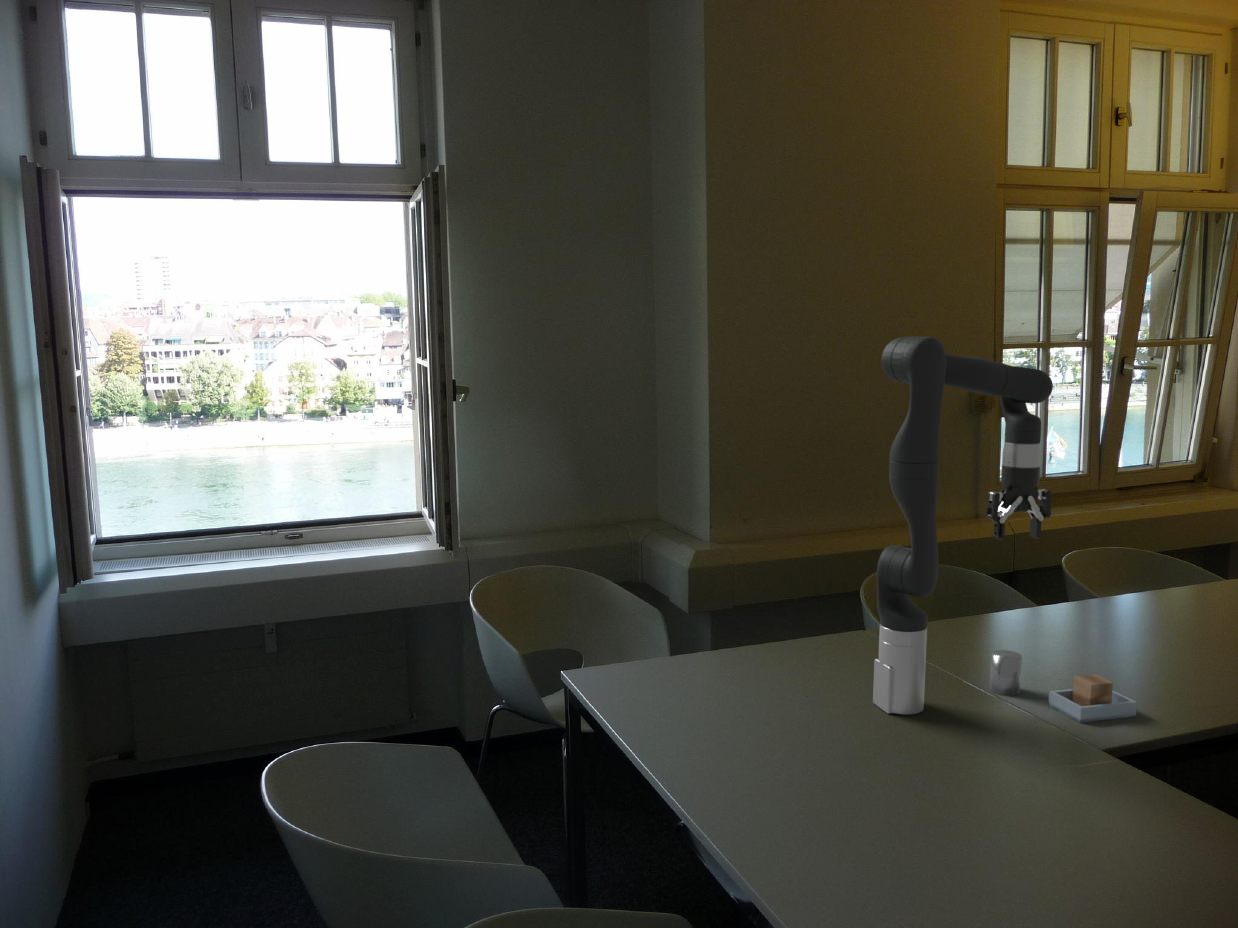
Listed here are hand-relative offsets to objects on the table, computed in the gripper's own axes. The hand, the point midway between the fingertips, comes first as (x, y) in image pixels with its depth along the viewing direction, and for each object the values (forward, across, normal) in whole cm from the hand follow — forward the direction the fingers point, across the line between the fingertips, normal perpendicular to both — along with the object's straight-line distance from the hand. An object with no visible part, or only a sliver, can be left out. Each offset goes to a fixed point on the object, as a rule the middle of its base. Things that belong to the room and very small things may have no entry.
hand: (1017, 538), depth 204 cm
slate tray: (+32, +6, -18) cm, 37 cm away
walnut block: (+32, +6, -18) cm, 37 cm away
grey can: (+32, -4, -4) cm, 33 cm away
